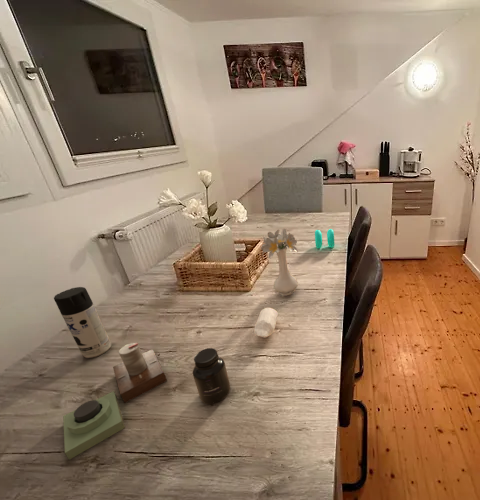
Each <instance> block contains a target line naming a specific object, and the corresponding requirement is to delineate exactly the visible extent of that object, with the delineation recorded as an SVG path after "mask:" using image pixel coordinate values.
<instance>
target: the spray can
mask: <svg viewBox="0 0 480 500" xmlns="http://www.w3.org/2000/svg"><path fill="white" fill-rule="evenodd" d="M53 300H54V302H55V305H56V306H57V309H58V311H59V312H60V314H61V316H62V319H63V320H64V323H65V324H66V326H67V328H68V330H69V332H70V334H71V336H72V338H73V340H74V341H75V344H76V345H77V348H78V349H79V352H80V353H81V355H82V356H83V357H84V358H86V359H94V358H97V357H99V356H102V355H103V354H105V353H107V352H108V351H109V350H110V349H111V347H112V342H111V340H110V336H108V333H107V331H106V329H105V327H104V324H103V322H102V320H101V318H100V316H99V314H98V311H97V309H96V306H95V305H94V302H93V300H92V298H91V296H90V294H89V292H88V289H87V288H86V287H83V286H76V287H72V288H69V289H66V290H63V291H61V292H59V293H57V294H55V295H54V296H53Z"/></svg>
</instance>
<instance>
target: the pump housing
mask: <svg viewBox="0 0 480 500" xmlns="http://www.w3.org/2000/svg"><path fill="white" fill-rule="evenodd" d="M95 400H96V401H98V403H99V405H100V406H101V411H100V412H99V413H98V414H97V415H96V416H95V417H94V418H92V419H90V420H88V421H87V422H83V423H79V422H77V420H76V419H75V417H74V412H75V410H76V409H75V410H72V411H70V412H69V413H66V414H64V415H63V416H62V419H63V420H62V422H63V424H62V425H63V442H64V443H63V444H64V446H63V447H64V454H65V456H66V457H67V459H68V460H71V459H74V458H75V457H77V456H79V455H80V454H82V453H84V452H85V451H87V450H89V449H90V448H92V447H94V446H96V445H98V444H100V443H101V442H103V441H104V440H107V439H108V438H110V437H112V436H113V435H115V434H116V433H118V432H120V431H121V430H124V429H125V428H126V426H125V423H124V419H123V414H122V410H121V407H120V401H119V399H118V396H117V393H116V392H115V390H113V391H111V392H109V393H106V394H105V395H103V396H100V397H99V398H97V399H95Z"/></svg>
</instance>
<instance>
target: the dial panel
mask: <svg viewBox="0 0 480 500" xmlns="http://www.w3.org/2000/svg"><path fill="white" fill-rule="evenodd" d="M142 354H143V357H144V359H145V361H146V364H147V368H146V369H145V370H144V371H143V372H141V373H140V374H137V375H129V374H128V372H127V369H126V367H125V365H124V363H123V362H120V363H119V364H116V365H114V366H112V369H113V373H114V376H115V380H116V382H117V387H118V391H119V394H120V397H121V399H122V401H123V403H124V404H126V403H128V402H130V401H132V400H134V399H136V398H138V397H140V396H141V395H143V394H145V393H147V392H149V391H151V390H152V389H155V388H156V387H159V386H160V385H161V384H164V383H166V382H167V381H168V379H167V377H166V374H165V372H164V370H163V367H162V365H161V362H160V361H159V359H158V357H157V355H156V353H155V351H154V349H153V348H152V349H149V350H147V351H145V352H142Z"/></svg>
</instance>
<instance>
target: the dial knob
mask: <svg viewBox="0 0 480 500" xmlns="http://www.w3.org/2000/svg"><path fill="white" fill-rule="evenodd" d="M118 354H119V357H120V358H121V362H122V363H124V365H125V367H126V369H127V372H128V374H129V375H137V374H140V373H141V372H143V371H144V370H145V369H146V368H147V364H146V361H145V359H144V357H143V352H142V349H141V347H140V345H139V343H138V342H130V343H127V344H125V345H123V346H122V347H121V348H120V349H118Z"/></svg>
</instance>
